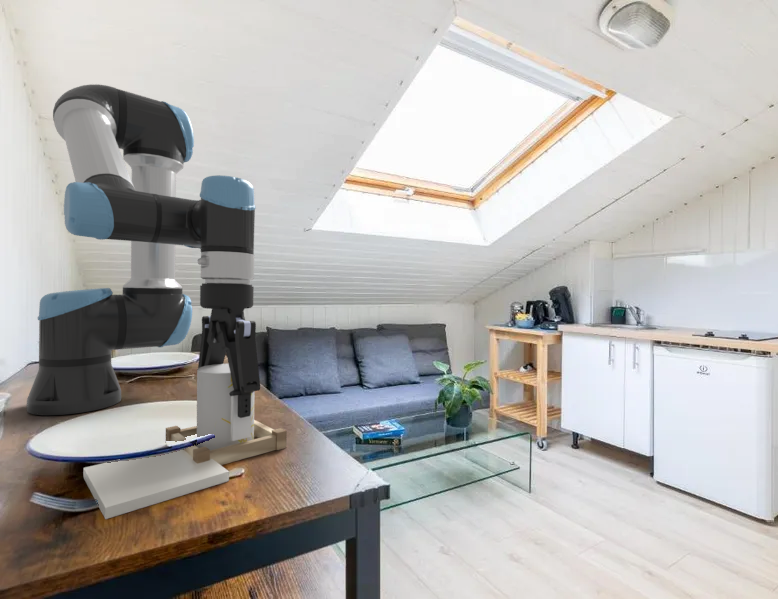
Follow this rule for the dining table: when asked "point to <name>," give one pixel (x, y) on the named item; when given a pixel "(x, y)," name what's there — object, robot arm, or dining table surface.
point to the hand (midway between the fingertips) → (226, 429)
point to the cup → (216, 406)
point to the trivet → (149, 481)
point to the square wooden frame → (224, 455)
